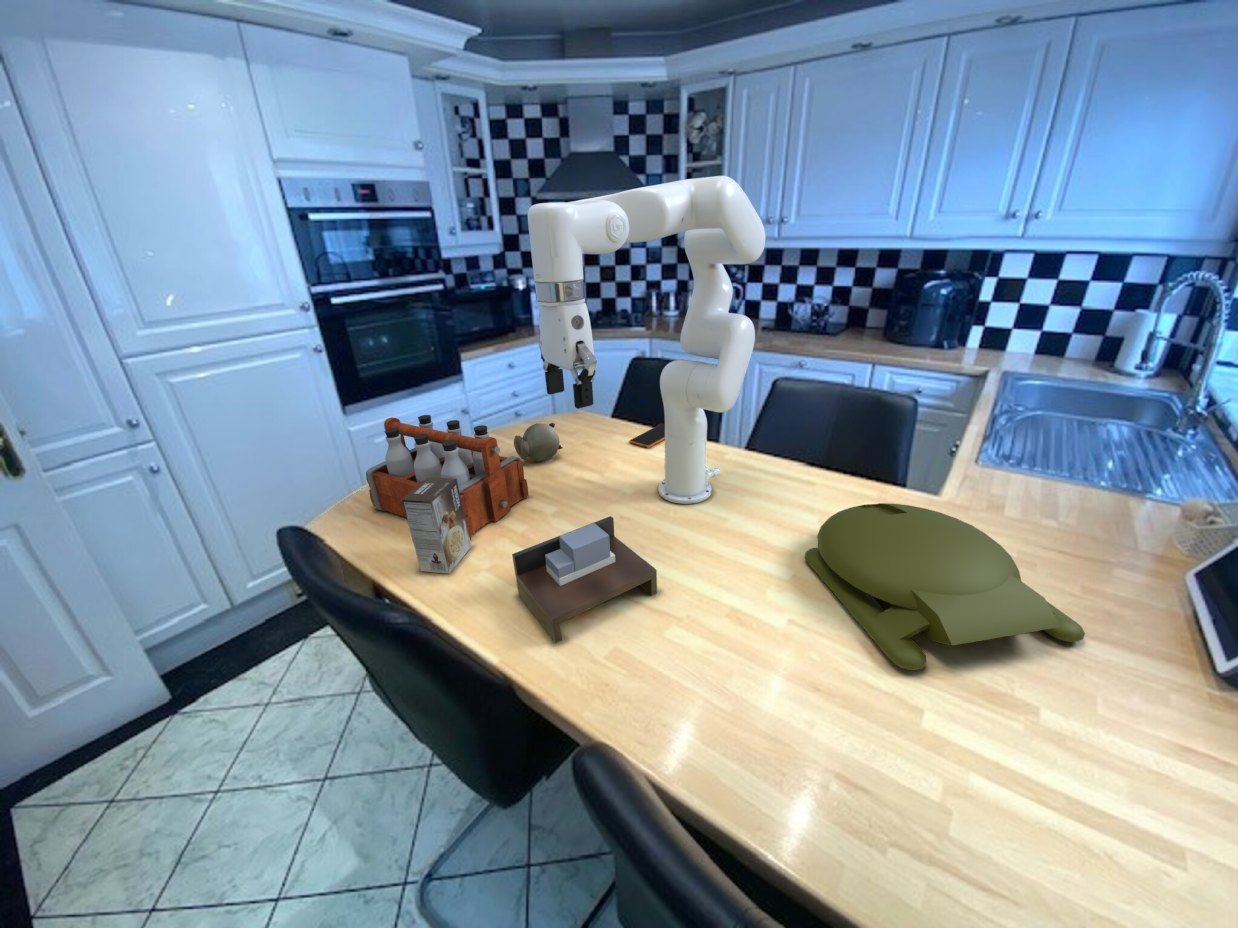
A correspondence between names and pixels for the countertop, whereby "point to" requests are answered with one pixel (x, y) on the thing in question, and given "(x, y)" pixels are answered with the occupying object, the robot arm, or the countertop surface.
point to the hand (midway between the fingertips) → (569, 399)
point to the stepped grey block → (579, 554)
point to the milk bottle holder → (447, 470)
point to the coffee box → (437, 524)
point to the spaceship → (927, 581)
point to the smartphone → (650, 437)
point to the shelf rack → (577, 581)
